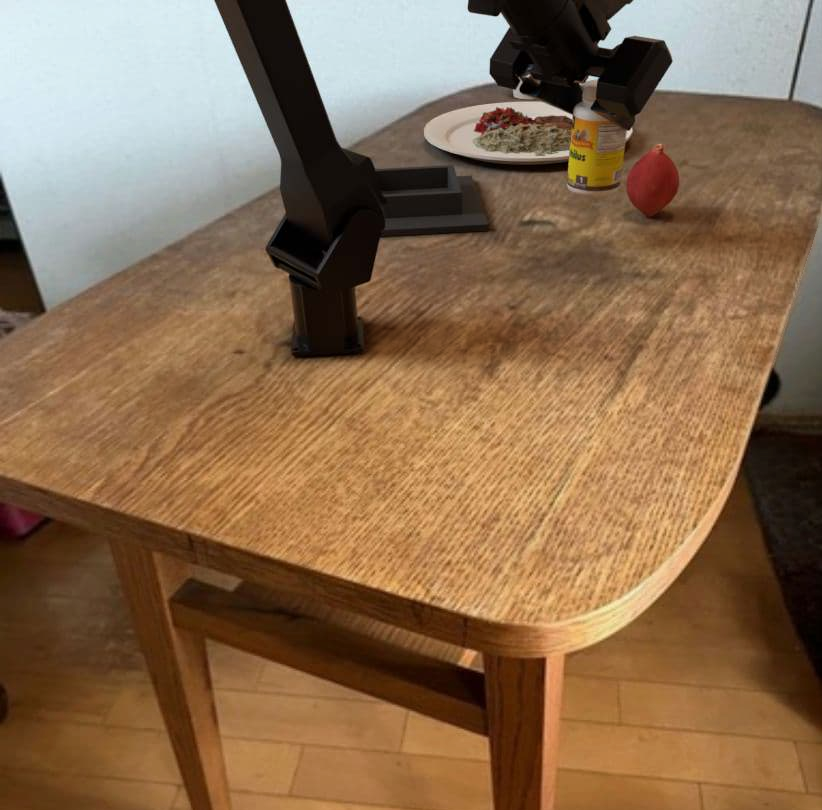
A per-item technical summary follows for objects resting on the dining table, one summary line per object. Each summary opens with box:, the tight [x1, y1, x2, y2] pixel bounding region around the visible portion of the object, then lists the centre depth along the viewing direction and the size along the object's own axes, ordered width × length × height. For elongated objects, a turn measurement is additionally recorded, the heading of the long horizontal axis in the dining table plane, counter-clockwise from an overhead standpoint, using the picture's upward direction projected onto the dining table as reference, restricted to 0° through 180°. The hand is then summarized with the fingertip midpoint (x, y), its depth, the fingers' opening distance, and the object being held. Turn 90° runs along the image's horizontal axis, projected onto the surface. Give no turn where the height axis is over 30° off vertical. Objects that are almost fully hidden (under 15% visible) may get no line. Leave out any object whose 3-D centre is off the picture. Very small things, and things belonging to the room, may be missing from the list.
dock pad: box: [375, 164, 490, 238], centre depth 104 cm, size 18×16×3 cm
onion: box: [625, 143, 680, 218], centre depth 98 cm, size 6×6×8 cm
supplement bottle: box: [566, 79, 627, 198], centre depth 87 cm, size 6×6×10 cm
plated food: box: [423, 101, 633, 166], centre depth 124 cm, size 30×30×3 cm
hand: (608, 120), depth 87 cm, fingers closed on supplement bottle, 5 cm apart
